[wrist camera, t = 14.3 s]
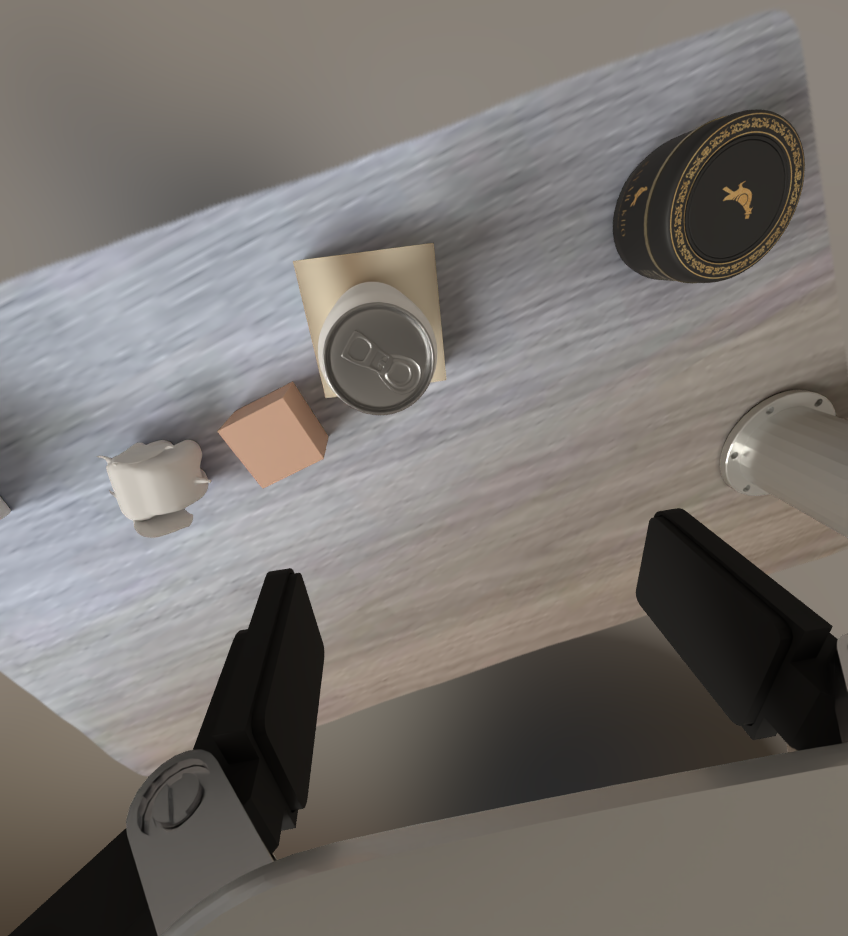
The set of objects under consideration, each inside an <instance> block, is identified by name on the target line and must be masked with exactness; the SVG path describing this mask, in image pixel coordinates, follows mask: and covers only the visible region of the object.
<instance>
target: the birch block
mask: <svg viewBox="0 0 848 936" xmlns="http://www.w3.org/2000/svg"><path fill="white" fill-rule="evenodd" d="M293 263H294V268H295V272H296V276H297V280H298V284H299V289H300V293H301V297H302V301H303V305H304V309H305V314H306V318H307V322H308V326H309V330H310V335H311V339H312V343H313V347H314V351H315V355H316V360H317V364H318V368H319V372H320V376H321V381H322V385H323V389H324V393H325V397H326V398H331V397H338V396H337V395H336V394H335V393H334V392H333V391H332V389H331V388H330V387H329V385H328V384H327V382H326V380H325V378H324V376H323V374H322V371H321V368H320V364H319V359H318V341H319V335H320V332H321V329H322V326H323V324H324V322H325V320H326V318H327V316H328V314H329V313H330V311H331V310H332V308H333V307H334V305H335V304H336V302H337V301H338V300H339V298H340V297H341V296H342V295H343V294H344V293H345V292H346V291H347V290H348V289H350V288H352V287H353V286H355V285H358V284H360V283H364V282H380V283H385V284H387V285H390V286H392V287H394V288H396V289H397V290H399V291H400V292H401V293H402V294H404V295H405V296H406V297H407V298H408V299H410V300H411V301H412V302H413V303H414V304H415V305H416V306H417V307H418V308H419V309H420V310H421V311H422V312H423V314H424V315H425V316H426V318H427V319H428V321H429V323H430V325H431V327H432V329H433V332H434V335H435V338H436V343H437V364H436V369H435V372H434V375H433V378H432V380H431V382H436V381H443V380H446V371H445V360H444V349H443V338H442V328H441V317H440V306H439V295H438V284H437V273H436V262H435V252H434V243H428V244H421V245H413V246H405V247H398V248H390V249H382V250H375V251H367V252H359V253H352V254H344V255H336V256H329V257H321V258H313V259H306V260H298V261H293Z"/></svg>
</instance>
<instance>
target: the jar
mask: <svg viewBox="0 0 848 936" xmlns="http://www.w3.org/2000/svg"><path fill="white" fill-rule="evenodd" d="M804 171H805V162H804V152H803V147H802V144H801V141H800V138H799V136H798V134H797V132H796V130H795V129H794V127H793V126H792V125H791V124H790V123H789V122H788V121H787V120H786V119H785V118H783V117H782V116H780V115H778V114H776V113H774V112H771V111H767V110H747V111H742V112H738V113H734V114H731V115H728V116H723V117H720V118H717V119H714V120H712V121H709V122H707V123H705V124H704V125H702V126H700V127H698V128H697V129H695V130H693V131H690V132H688V133H685V134H683V135H680V136H678V137H676V138H674V139H671V140H670V141H668V142H666V143H664V144H663V145H661V146H660V147H658V148H657V149H656V150H654V151H653V152H652V153H651V154H650V155H649V156H647V157H646V158H645V159H644V160H643V161H642V162H641V163H640V164H639V165H638V166H637V167H636V169H635V170H634V171H633V172H632V174H631V175H630V176H629V178H628V179H627V181H626V183H625V185H624V186H623V188H622V190H621V193H620V195H619V198H618V200H617V204H616V207H615V212H614V218H613V236H614V242H615V246H616V249H617V251H618V253H619V255H620V257H621V259H622V260H623V261H624V263H625V264H626V265H627V266H628V267H630V268H631V269H632V270H634V271H635V272H637V273H639V274H640V275H642V276H645V277H647V278H651V279H656V280H669V281H678V282H683V283H711V282H718V281H722V280H726V279H729V278H732V277H734V276H736V275H738V274H740V273H742V272H744V271H746V270H747V269H749V268H750V267H752V266H753V265H754V264H756V263H757V262H758V261H759V260H761V259H762V258H763V257H764V256H765V255H766V254H767V253H768V252H769V251H770V250H771V249H772V247H773V246H774V245H775V244H776V242H777V241H778V240H779V238H780V237H781V236H782V234H783V233H784V231H785V229H786V228H787V226H788V224H789V222H790V221H791V219H792V216H793V214H794V212H795V210H796V207H797V204H798V201H799V198H800V195H801V191H802V187H803V181H804Z"/></svg>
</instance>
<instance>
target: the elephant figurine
mask: <svg viewBox="0 0 848 936" xmlns="http://www.w3.org/2000/svg"><path fill="white" fill-rule="evenodd" d="M97 457H99V458H104V459H105V460H106V461H107V462H108V465H107V467H106V469H107V472H108V475H109V478H110V481H111V484H112V487H113V490H114V492H115V493H114V492H112V491H110V490H109V491H110V493H111V494H112V495H113V496H114V497H115V498H117V501H118V504H119V506H120V508H121V511H122V513H123V514H124V515H125V516H126V517H127V518H129V519H131V520H133V522H134V528H135V530H136V531H137V532H138V533H139V534H140V535H141V536H144V537H149V538H154V537H160V536H163V535H166V534H169V533H172V532H175V531H177V530H180V529H182V528H185V527H188V526H190V525H191V523H192V520H193V515H192V514H190V513H188V512H187V511H186V510H185V509H184V508H186V507H187V506H189V505H191V504H193V503H194V502H196V501H198V500H199V499H200V498H202V497H203V496H204V494H205V493H206V491H207V489H208V482H209V483H211V480H208V478H207V476H206V473H205V472H204V471H203V470H202V469H200V463H201V459H202V452H201V449H200V447H199V445H198V443H196V442H195V441H192V440H184V441H182V442H180V443H178V444H176V445H172V444H171V442H169V441H165V440H159V441H156V442H152V443H149V444H147V445H145V444H143V443H136V444H134V445H133V446H131V447H130V448H129V449H127V450H126V451H124V452H123V453H121V454H120V455H117V456H115V457H113V458H109V457H105V456H97Z"/></svg>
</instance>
